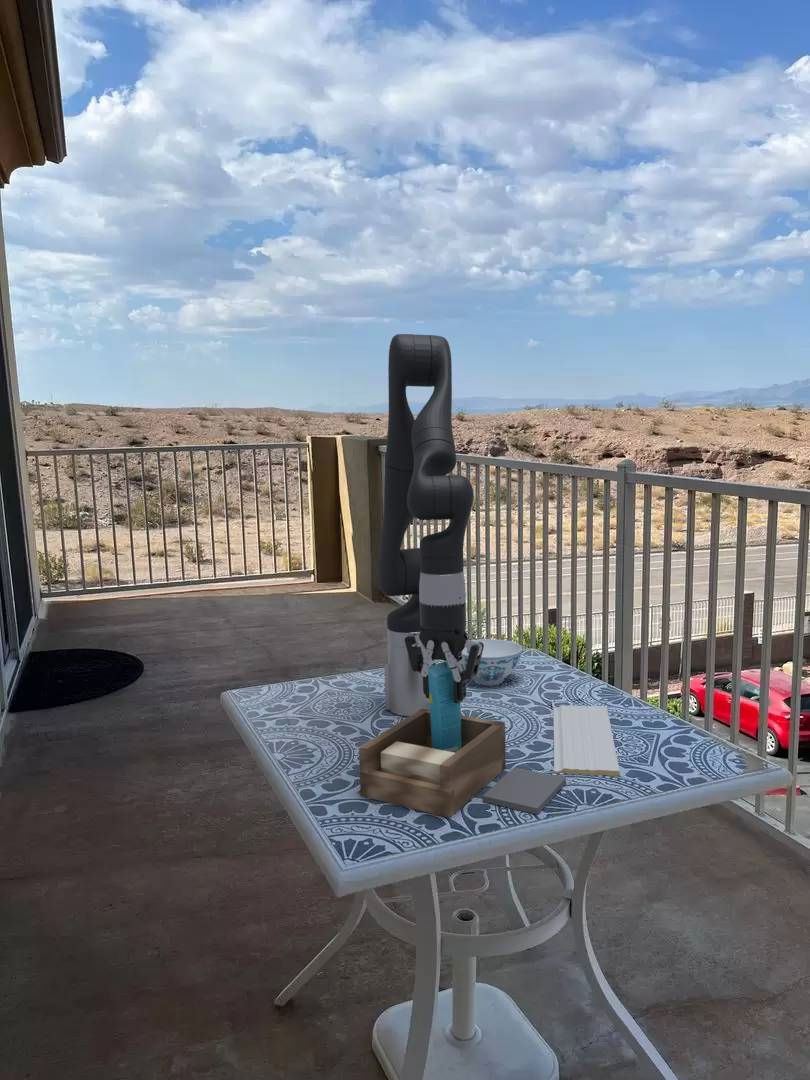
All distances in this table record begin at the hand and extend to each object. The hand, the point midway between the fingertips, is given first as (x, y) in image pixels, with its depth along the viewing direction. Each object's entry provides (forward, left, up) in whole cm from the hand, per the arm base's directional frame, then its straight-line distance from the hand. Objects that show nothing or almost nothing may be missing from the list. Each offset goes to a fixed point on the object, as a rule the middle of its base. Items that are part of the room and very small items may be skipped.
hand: (444, 699), depth 136 cm
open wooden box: (0, -4, -13) cm, 13 cm away
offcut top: (0, -9, -8) cm, 12 cm away
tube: (0, 0, -13) cm, 13 cm away
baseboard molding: (+15, +24, -14) cm, 31 cm away
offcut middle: (0, -9, -11) cm, 14 cm away
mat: (+15, -1, -13) cm, 19 cm away
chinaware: (-15, +48, -13) cm, 52 cm away
